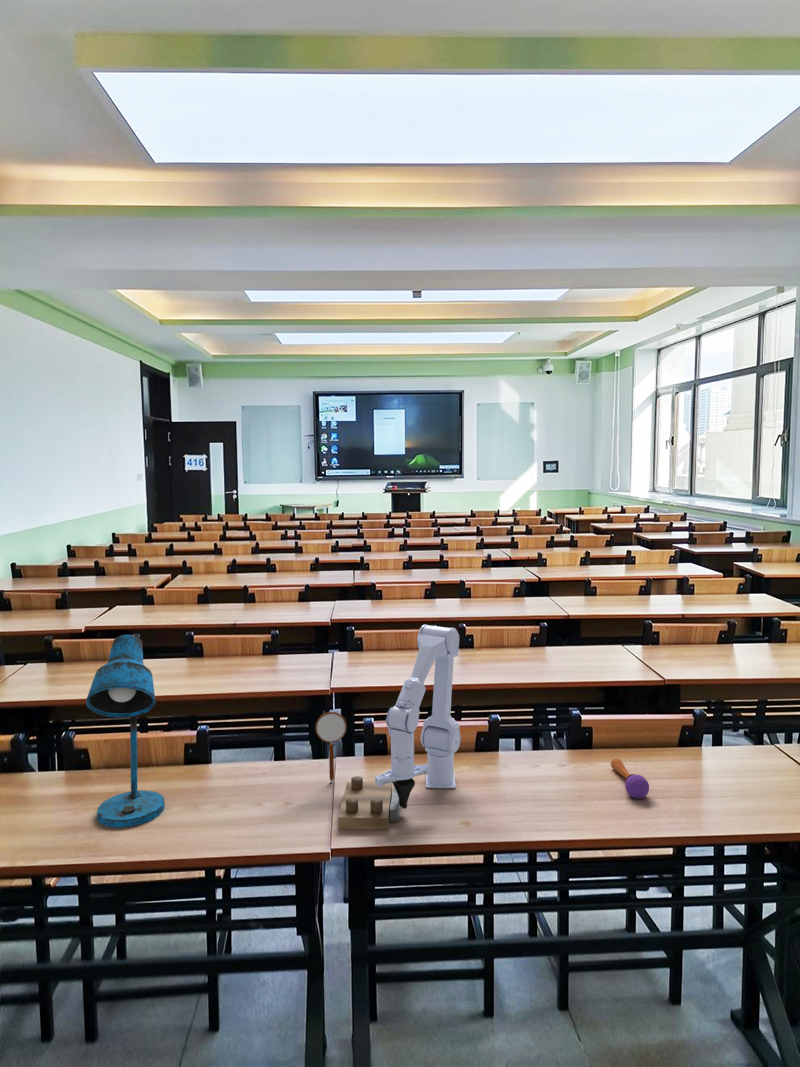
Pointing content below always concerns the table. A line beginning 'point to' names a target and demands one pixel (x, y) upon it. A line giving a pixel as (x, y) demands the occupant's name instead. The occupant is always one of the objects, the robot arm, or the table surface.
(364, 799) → the stool seat
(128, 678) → the desk lamp
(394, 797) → the hinged leg
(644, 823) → the table surface
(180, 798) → the table surface
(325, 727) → the magnifying glass
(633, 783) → the purple mallet
